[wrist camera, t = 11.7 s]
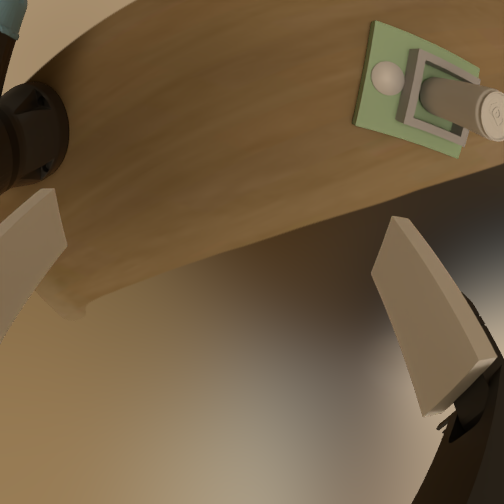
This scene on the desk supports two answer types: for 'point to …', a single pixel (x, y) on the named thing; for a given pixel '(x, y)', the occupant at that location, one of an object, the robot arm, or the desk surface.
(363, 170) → the desk surface
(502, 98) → the beverage can
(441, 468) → the robot arm
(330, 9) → the desk surface
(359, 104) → the green tray with frame
